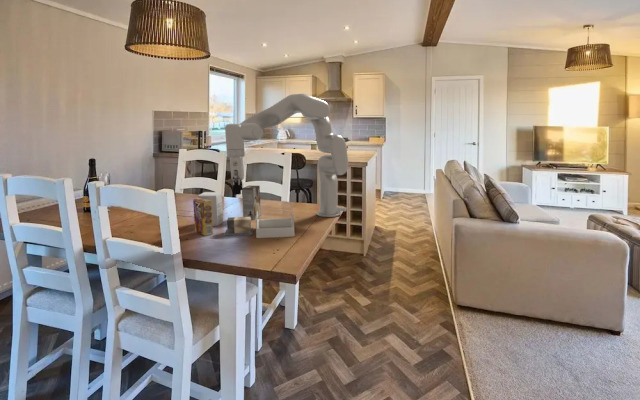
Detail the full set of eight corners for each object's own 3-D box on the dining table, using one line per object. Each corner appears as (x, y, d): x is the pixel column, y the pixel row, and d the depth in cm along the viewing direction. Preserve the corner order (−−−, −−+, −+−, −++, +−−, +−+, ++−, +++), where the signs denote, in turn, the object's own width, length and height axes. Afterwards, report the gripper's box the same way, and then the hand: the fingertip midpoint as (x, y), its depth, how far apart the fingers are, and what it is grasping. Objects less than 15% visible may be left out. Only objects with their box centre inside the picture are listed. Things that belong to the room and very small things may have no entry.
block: (251, 229, 175) (250, 216, 174) (250, 232, 170) (250, 219, 169) (228, 230, 174) (228, 217, 173) (227, 233, 169) (226, 220, 168)
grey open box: (292, 226, 182) (291, 209, 180) (294, 236, 166) (294, 218, 164) (257, 227, 180) (257, 211, 178) (256, 237, 164) (255, 219, 162)
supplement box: (199, 226, 183) (197, 195, 180) (205, 221, 192) (203, 191, 188) (218, 226, 182) (216, 195, 179) (223, 221, 191) (222, 191, 188)
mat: (253, 228, 178) (253, 227, 178) (252, 235, 168) (252, 234, 168) (226, 229, 176) (226, 228, 176) (224, 236, 167) (224, 235, 167)
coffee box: (249, 214, 204) (248, 185, 201) (261, 215, 203) (260, 185, 199) (242, 219, 195) (241, 188, 192) (254, 219, 194) (253, 188, 191)
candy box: (213, 234, 170) (211, 200, 167) (205, 236, 167) (202, 201, 164) (203, 230, 176) (201, 197, 173) (194, 232, 173) (192, 199, 170)
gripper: (243, 154, 157) (245, 195, 161) (245, 151, 174) (247, 188, 177) (224, 155, 156) (227, 196, 160) (228, 151, 173) (231, 189, 177)
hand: (238, 192), depth 169 cm, fingers open, 9 cm apart
